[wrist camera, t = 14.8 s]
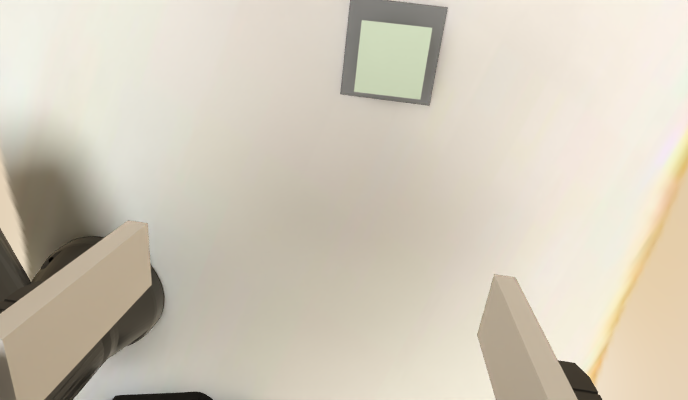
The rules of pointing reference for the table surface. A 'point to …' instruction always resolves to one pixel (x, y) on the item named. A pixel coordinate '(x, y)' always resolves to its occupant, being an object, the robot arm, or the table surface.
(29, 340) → the robot arm
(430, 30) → the block
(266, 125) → the table surface
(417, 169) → the table surface
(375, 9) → the mat
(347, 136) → the table surface
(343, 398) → the table surface
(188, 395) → the sign
